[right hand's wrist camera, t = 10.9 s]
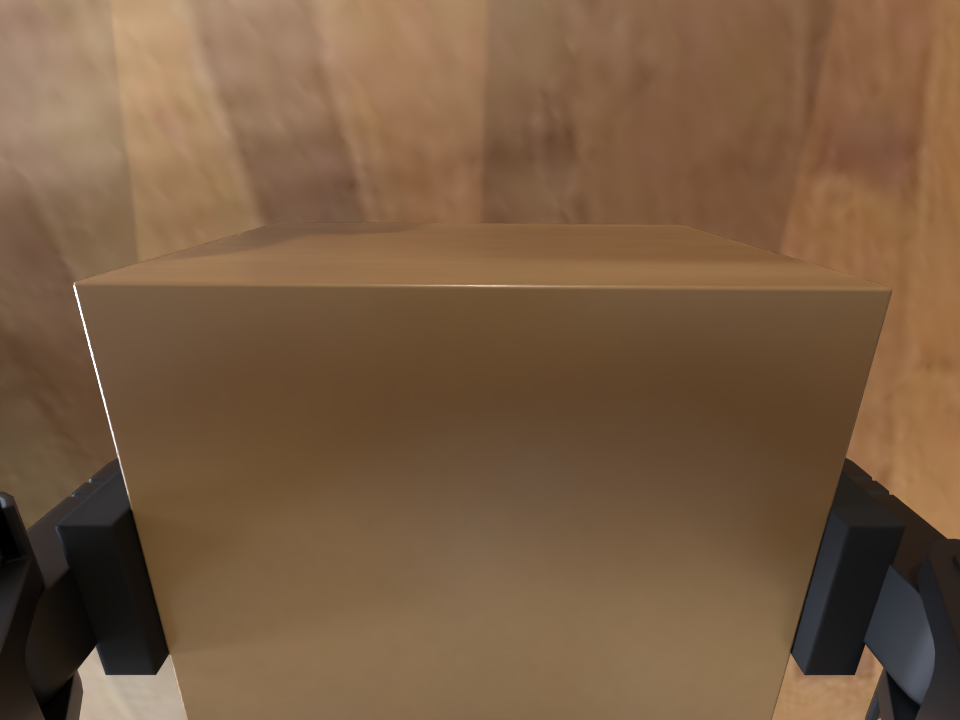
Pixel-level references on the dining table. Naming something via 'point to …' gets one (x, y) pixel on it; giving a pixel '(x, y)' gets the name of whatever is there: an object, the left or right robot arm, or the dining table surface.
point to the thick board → (480, 464)
